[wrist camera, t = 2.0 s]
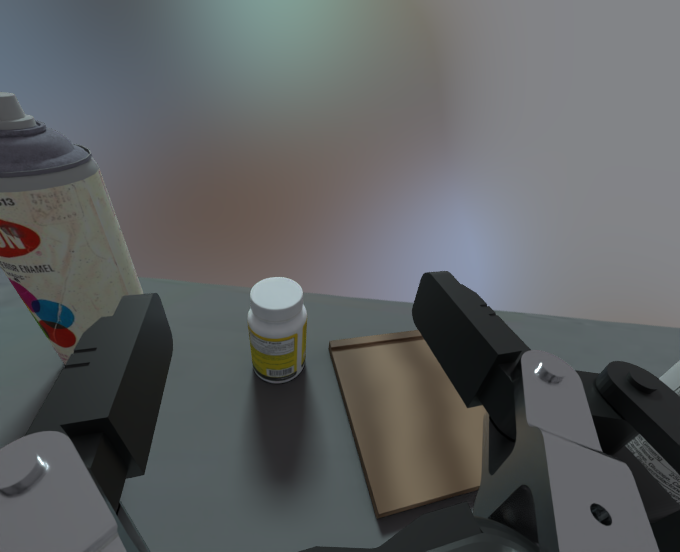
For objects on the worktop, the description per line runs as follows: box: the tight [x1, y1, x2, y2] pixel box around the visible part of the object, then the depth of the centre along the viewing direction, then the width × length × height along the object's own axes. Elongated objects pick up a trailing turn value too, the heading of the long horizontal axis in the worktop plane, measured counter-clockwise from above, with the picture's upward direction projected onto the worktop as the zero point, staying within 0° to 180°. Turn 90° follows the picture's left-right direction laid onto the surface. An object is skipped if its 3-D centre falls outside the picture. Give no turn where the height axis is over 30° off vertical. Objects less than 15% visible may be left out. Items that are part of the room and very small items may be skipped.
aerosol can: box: [0, 92, 143, 364], centre depth 22 cm, size 7×7×20 cm
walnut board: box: [329, 330, 486, 519], centre depth 26 cm, size 14×14×1 cm
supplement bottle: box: [248, 277, 307, 383], centre depth 26 cm, size 5×5×8 cm
